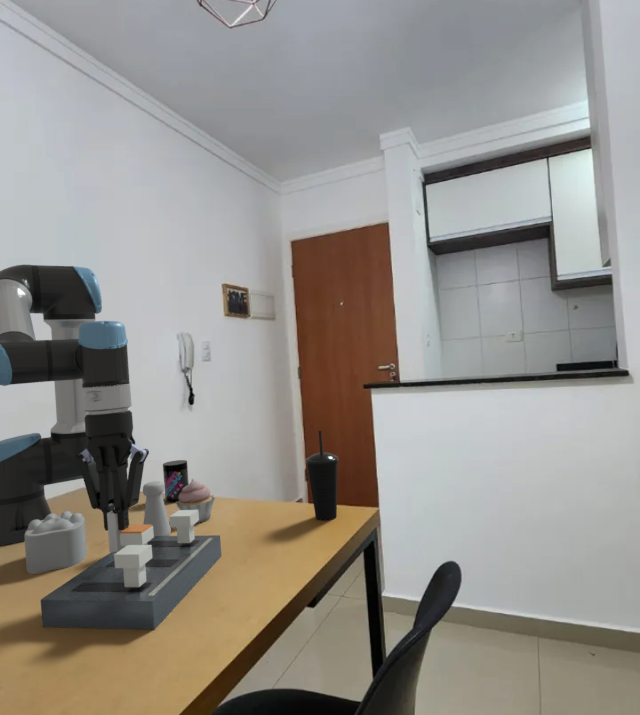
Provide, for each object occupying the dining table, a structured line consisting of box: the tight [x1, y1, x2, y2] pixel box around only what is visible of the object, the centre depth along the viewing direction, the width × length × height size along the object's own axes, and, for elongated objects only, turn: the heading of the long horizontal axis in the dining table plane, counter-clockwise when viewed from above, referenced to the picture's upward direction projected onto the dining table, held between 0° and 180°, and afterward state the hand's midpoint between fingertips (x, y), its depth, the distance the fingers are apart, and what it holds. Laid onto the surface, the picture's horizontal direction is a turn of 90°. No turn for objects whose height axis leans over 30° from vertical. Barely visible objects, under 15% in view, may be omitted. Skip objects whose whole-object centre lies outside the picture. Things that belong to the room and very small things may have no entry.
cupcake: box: [174, 478, 216, 524], centre depth 116 cm, size 9×9×10 cm
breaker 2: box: [169, 509, 199, 543], centre depth 89 cm, size 4×4×5 cm
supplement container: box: [162, 459, 190, 503], centre depth 136 cm, size 7×7×10 cm
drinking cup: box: [304, 430, 339, 522], centre depth 110 cm, size 8×8×20 cm
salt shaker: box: [142, 480, 172, 536], centre depth 101 cm, size 6×6×13 cm
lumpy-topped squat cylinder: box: [24, 510, 88, 575], centre depth 98 cm, size 10×13×9 cm
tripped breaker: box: [120, 524, 154, 546], centre depth 81 cm, size 4×4×6 cm
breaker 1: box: [114, 545, 152, 587], centre depth 72 cm, size 4×4×5 cm
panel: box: [40, 534, 222, 630], centre depth 81 cm, size 18×25×4 cm
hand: (118, 548), depth 82 cm, fingers closed
